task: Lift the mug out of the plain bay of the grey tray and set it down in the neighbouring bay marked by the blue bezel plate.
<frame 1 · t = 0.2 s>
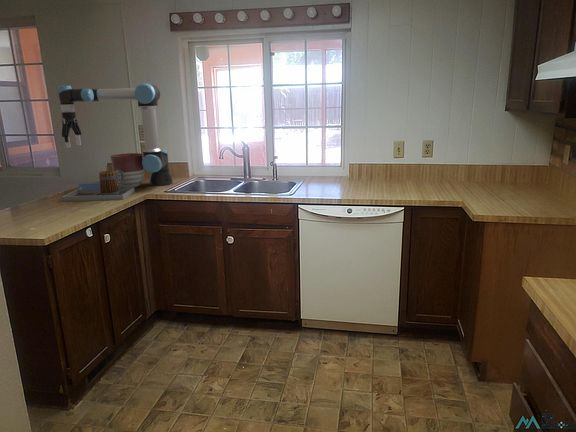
hand: (73, 146, 268), 28 cm above the worktop, fingers open, 13 cm apart
planter: (130, 188, 278), on the worktop
grey tray: (99, 196, 256), on the worktop
mug: (114, 196, 256), resting in grey tray
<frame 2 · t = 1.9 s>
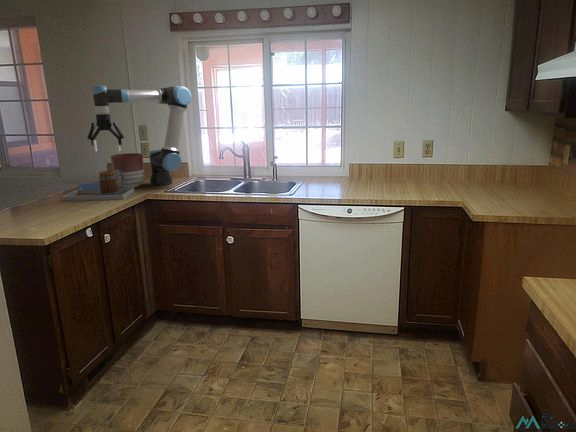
hand: (107, 151, 249), 27 cm above the worktop, fingers open, 13 cm apart
nothing on the worktop moved.
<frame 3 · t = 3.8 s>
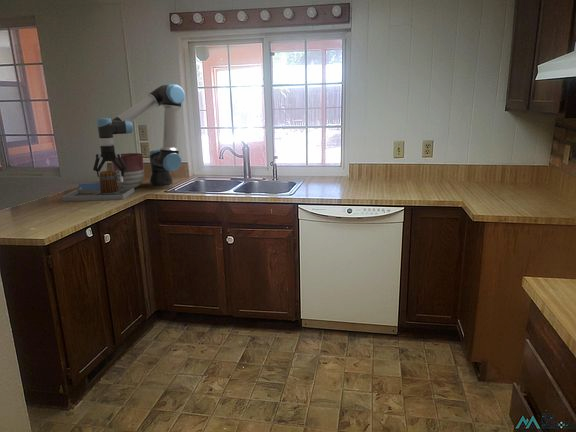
hand: (111, 182, 254), 8 cm above the worktop, fingers open, 11 cm apart
mug: (114, 196, 256), resting in grey tray, touching gripper
everything else where it was.
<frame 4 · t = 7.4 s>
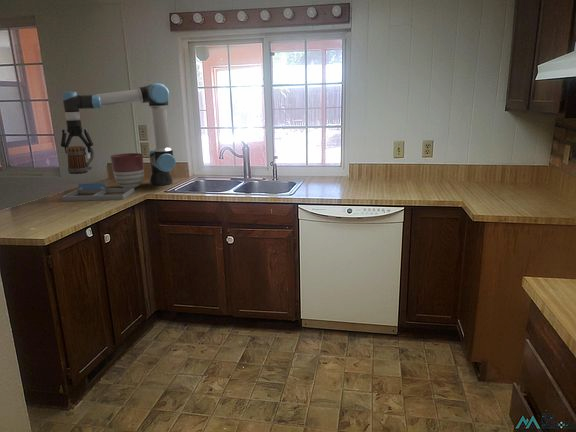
hand: (79, 158, 249), 23 cm above the worktop, fingers closed on mug, 10 cm apart
mug: (82, 172, 252), point 15 cm above the worktop, touching gripper
everything else where it was.
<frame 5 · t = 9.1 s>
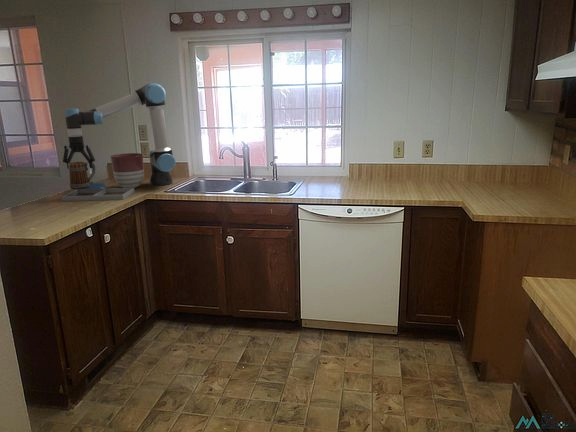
hand: (81, 174, 252), 14 cm above the worktop, fingers closed on mug, 10 cm apart
mug: (84, 187, 254), point 5 cm above the worktop, touching gripper
everything else where it was.
when the fingers open (9 cm above the worktop, at t = 10.6 s): mug drops 1 cm, resting in grey tray.
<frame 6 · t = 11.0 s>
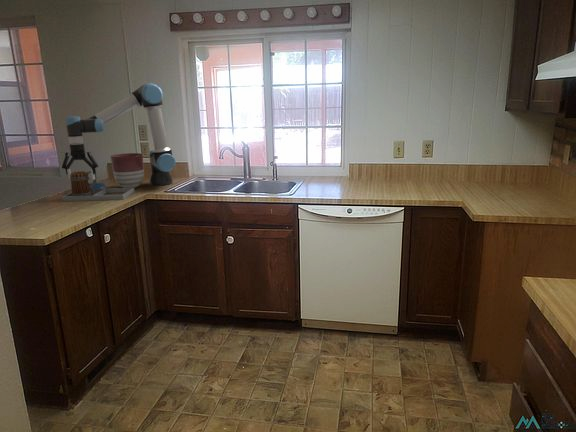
hand: (82, 179, 253), 10 cm above the worktop, fingers open, 13 cm apart
mug: (86, 196, 256), resting in grey tray
everything else where it was.
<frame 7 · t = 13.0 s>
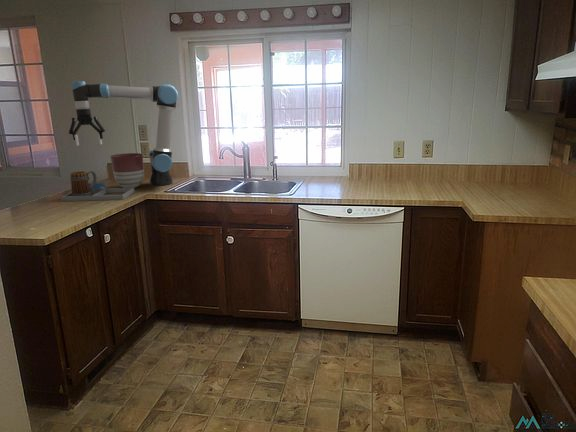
hand: (89, 145, 255), 30 cm above the worktop, fingers open, 13 cm apart
nothing on the worktop moved.
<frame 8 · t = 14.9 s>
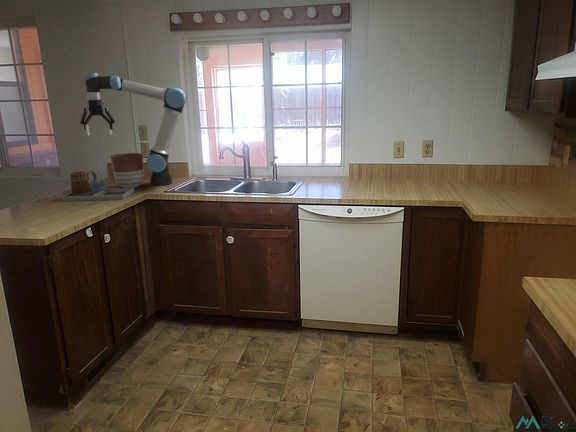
hand: (99, 135, 263), 35 cm above the worktop, fingers open, 13 cm apart
nothing on the worktop moved.
at the end: mug inside the target area on the grey tray (0.5 cm from its centre), point 0.0 cm above the grey tray's base; mug tilted 0°; the gripper is holding nothing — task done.
